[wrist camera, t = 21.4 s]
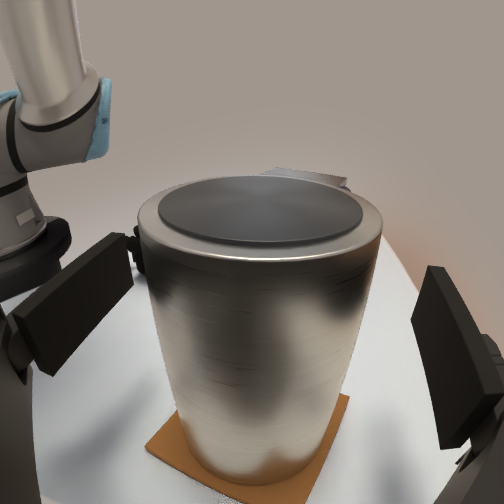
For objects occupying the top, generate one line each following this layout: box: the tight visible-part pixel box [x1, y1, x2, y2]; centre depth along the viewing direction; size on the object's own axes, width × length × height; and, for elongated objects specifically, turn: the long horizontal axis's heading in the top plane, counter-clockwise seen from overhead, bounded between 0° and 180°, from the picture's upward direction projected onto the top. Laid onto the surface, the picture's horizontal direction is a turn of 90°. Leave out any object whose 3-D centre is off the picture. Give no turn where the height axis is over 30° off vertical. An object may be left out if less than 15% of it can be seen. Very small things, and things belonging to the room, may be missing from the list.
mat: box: [144, 393, 350, 504], centre depth 15 cm, size 8×8×1 cm
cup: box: [137, 175, 383, 486], centre depth 12 cm, size 7×7×12 cm
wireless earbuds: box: [125, 225, 146, 275], centre depth 28 cm, size 7×2×5 cm, turn 70°
